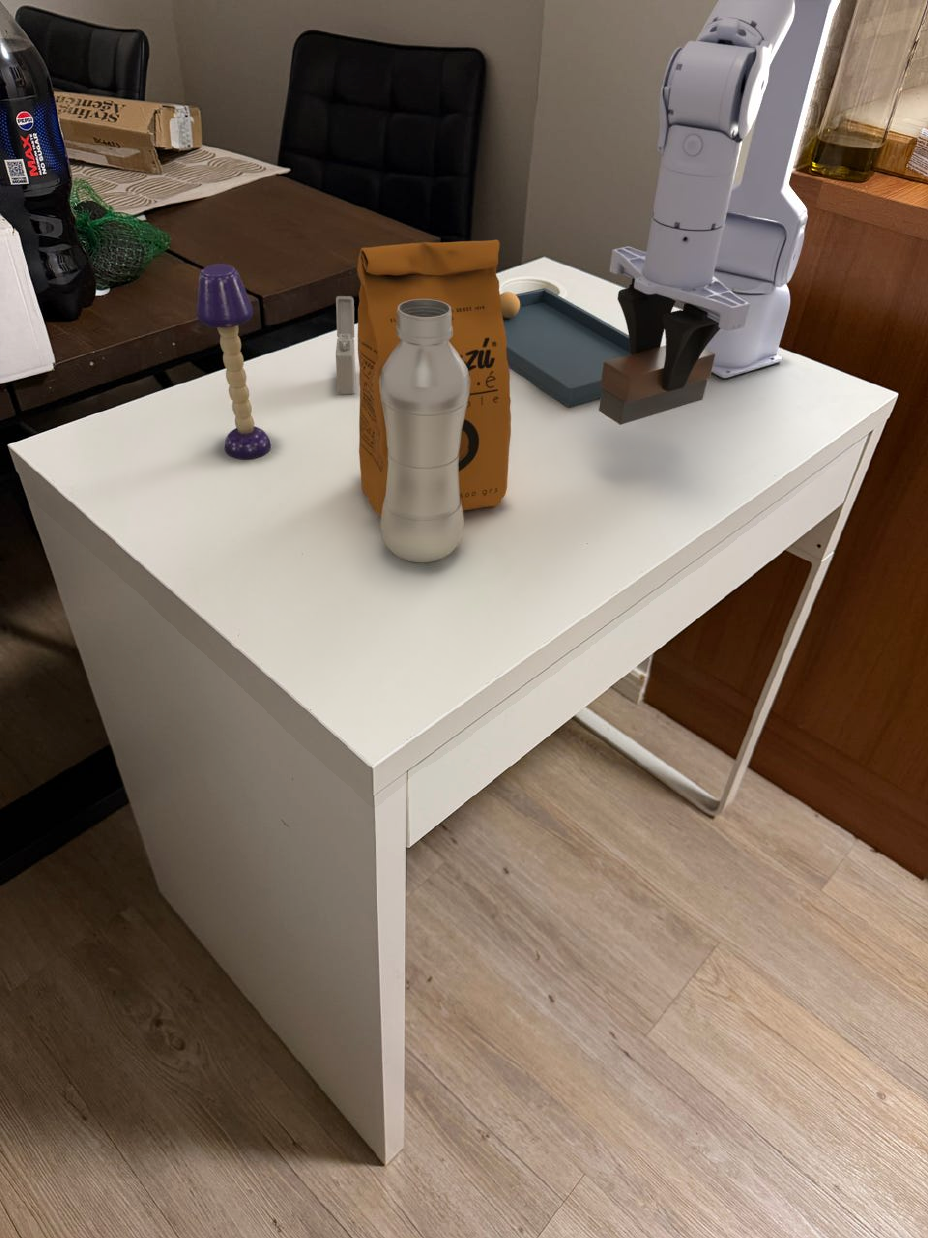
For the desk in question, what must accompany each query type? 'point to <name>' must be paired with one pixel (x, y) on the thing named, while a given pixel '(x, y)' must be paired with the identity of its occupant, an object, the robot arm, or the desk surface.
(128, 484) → the desk surface
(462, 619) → the desk surface
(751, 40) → the robot arm
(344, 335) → the lighter
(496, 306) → the coffee package
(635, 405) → the brush
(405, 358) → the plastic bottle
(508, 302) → the wooden bead
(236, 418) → the toy lamp
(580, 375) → the tray
